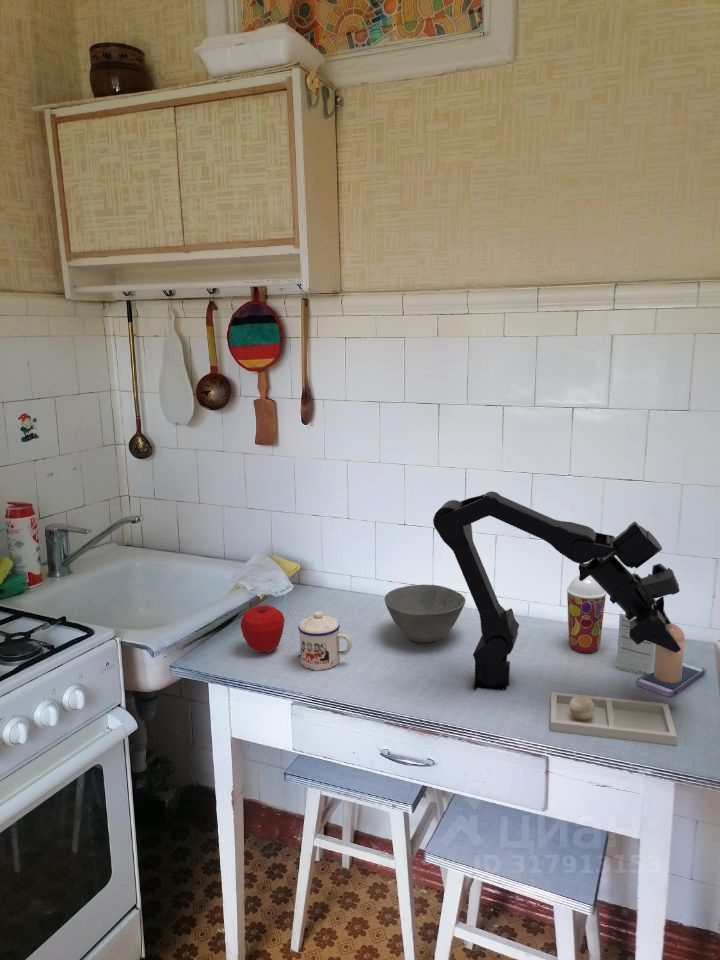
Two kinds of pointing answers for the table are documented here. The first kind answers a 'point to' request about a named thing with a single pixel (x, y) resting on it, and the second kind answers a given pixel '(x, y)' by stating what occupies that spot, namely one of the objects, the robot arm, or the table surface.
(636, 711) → the pulp tray
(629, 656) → the supplement box
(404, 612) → the bowl
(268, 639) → the apple
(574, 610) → the smoothie
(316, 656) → the teacup with lid
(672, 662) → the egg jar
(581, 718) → the beige lumpy ball
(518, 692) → the table surface
